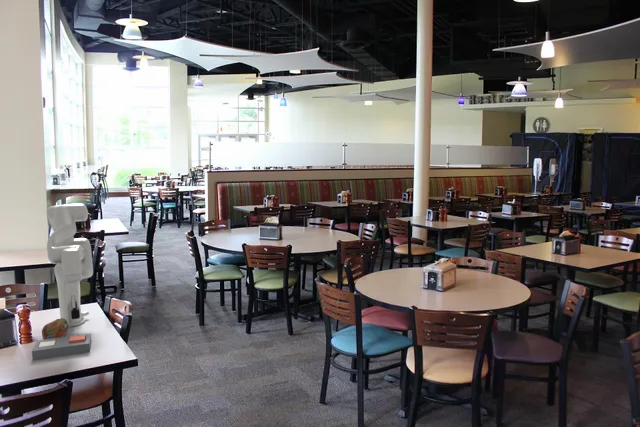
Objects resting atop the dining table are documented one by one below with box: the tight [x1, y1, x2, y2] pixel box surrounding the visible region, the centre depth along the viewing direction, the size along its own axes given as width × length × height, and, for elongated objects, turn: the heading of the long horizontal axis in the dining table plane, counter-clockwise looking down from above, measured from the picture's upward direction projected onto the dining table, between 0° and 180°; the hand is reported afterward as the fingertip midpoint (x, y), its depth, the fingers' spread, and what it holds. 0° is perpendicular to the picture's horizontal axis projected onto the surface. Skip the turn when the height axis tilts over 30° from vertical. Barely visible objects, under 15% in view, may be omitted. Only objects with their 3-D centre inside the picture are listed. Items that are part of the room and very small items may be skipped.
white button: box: [39, 340, 56, 347], centre depth 234 cm, size 6×6×4 cm
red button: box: [69, 334, 86, 343], centre depth 238 cm, size 6×6×4 cm
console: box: [31, 333, 93, 361], centre depth 236 cm, size 22×14×4 cm, turn 110°
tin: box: [41, 318, 69, 340], centre depth 252 cm, size 15×3×8 cm, turn 168°
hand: (75, 318), depth 237 cm, fingers closed
